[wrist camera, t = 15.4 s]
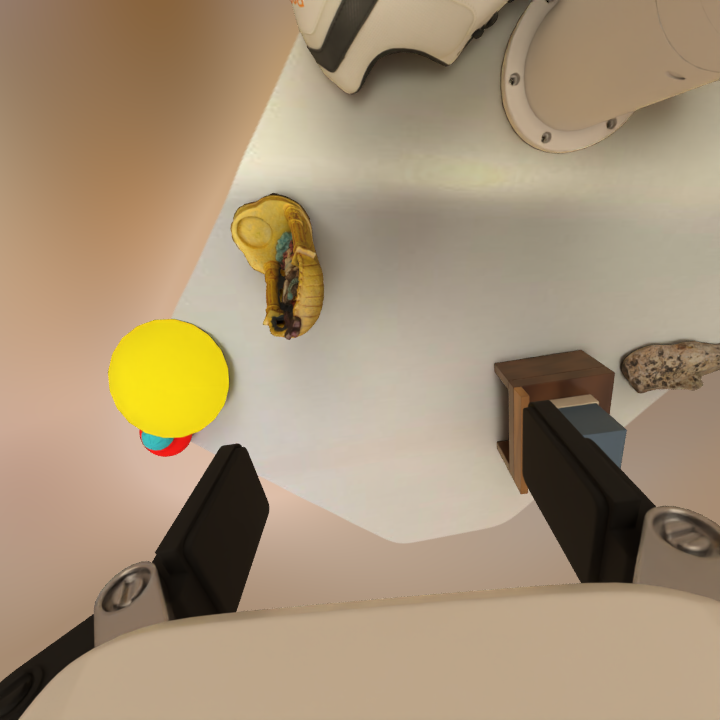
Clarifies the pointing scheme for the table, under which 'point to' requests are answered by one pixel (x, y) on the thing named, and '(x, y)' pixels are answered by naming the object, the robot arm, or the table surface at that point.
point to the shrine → (282, 261)
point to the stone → (671, 366)
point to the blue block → (594, 424)
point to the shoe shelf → (547, 393)
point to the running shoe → (388, 32)
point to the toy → (168, 383)
